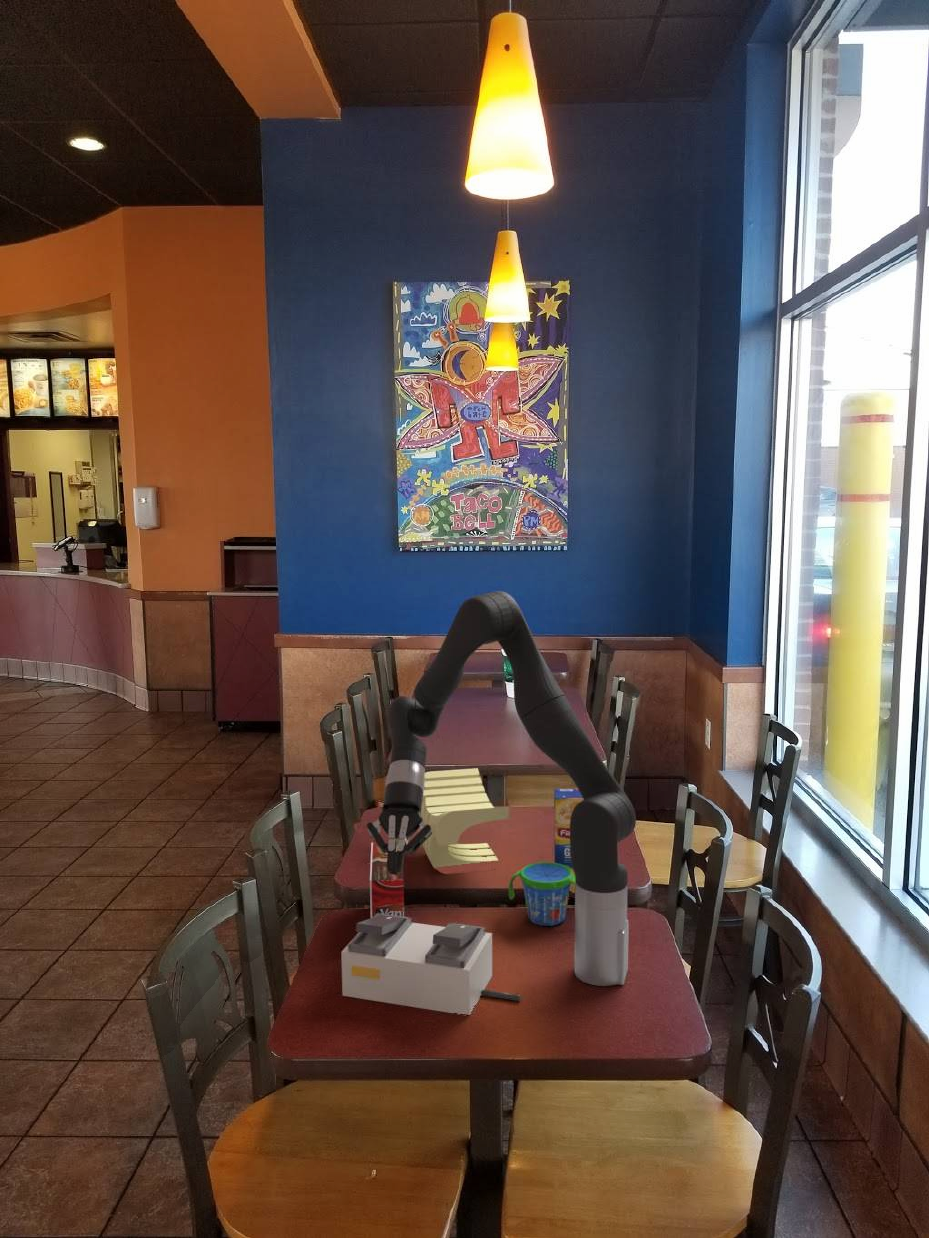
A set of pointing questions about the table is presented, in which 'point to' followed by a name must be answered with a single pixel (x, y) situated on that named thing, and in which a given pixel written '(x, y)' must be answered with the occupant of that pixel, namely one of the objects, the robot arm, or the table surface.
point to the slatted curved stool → (456, 816)
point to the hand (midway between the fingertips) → (393, 872)
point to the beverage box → (564, 826)
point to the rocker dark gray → (379, 925)
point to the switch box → (419, 969)
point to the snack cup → (545, 891)
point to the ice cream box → (385, 886)
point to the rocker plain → (455, 935)
